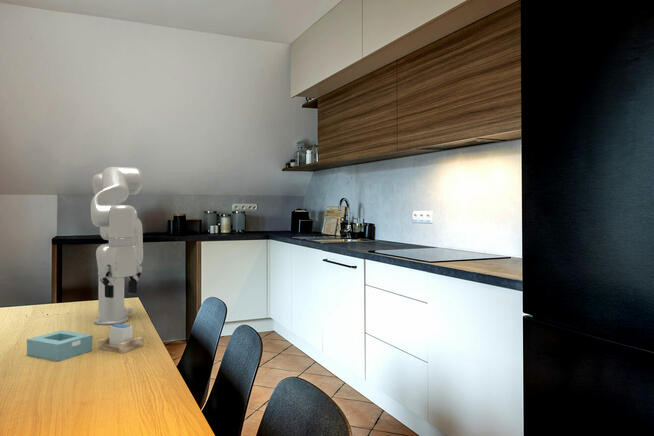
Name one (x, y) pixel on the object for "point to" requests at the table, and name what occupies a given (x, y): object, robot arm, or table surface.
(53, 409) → the table surface
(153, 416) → the table surface
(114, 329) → the white box blue label
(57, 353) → the block
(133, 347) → the wooden frame
